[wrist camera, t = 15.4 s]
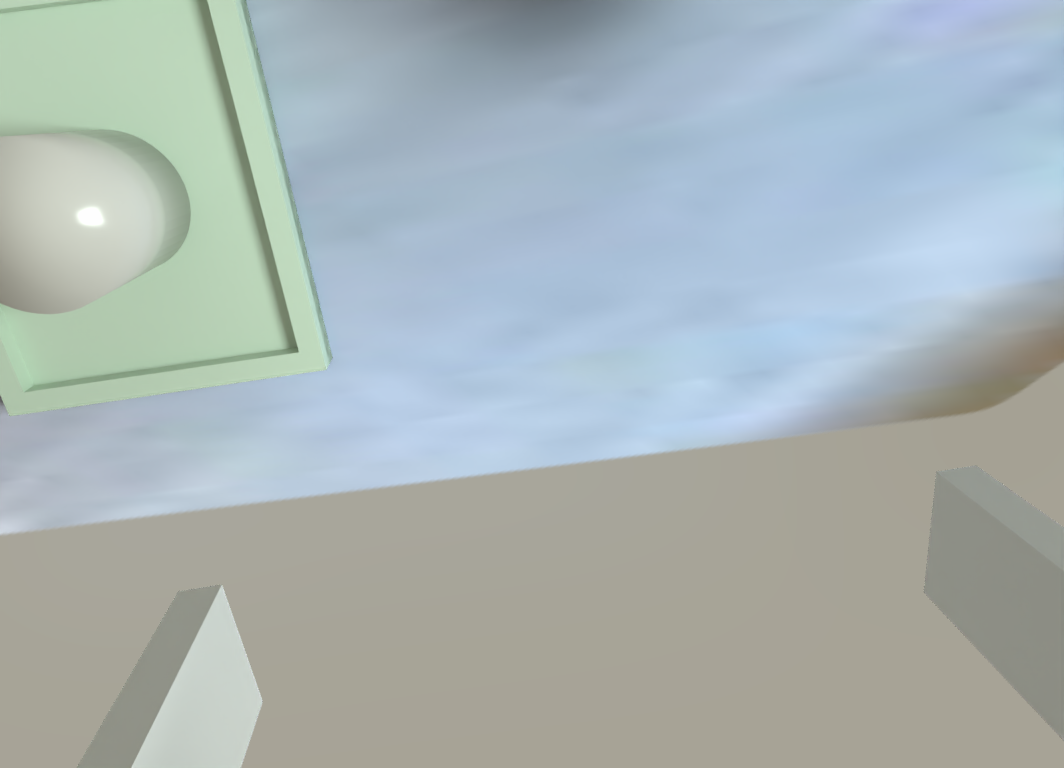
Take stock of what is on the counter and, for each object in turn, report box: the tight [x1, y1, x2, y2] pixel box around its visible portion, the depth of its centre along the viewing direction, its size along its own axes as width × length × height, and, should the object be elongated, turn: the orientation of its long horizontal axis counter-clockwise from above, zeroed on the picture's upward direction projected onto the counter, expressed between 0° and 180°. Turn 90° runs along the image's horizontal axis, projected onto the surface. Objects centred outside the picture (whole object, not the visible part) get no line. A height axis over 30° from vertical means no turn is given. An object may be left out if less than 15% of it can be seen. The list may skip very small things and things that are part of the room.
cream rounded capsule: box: [0, 129, 191, 314], centre depth 32 cm, size 7×7×8 cm
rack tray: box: [0, 0, 332, 416], centre depth 36 cm, size 20×17×2 cm
